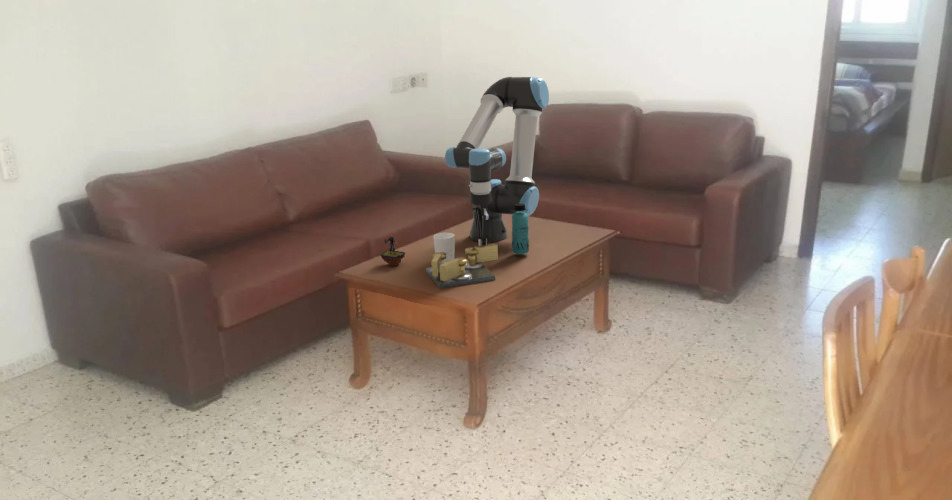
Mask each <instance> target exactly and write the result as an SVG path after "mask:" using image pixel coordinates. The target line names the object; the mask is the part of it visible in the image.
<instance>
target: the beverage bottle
mask: <svg viewBox="0 0 952 500" xmlns="http://www.w3.org/2000/svg"><path fill="white" fill-rule="evenodd" d="M514 209H515V211H524V210H526V208H525V204H522V203H519V204H515V208H514ZM511 223H512V224H511V248H512V249H511V251H512V253H513V254H515V255H525V254H528V253H529V251H530V240H529V237H530V236H529V235H530V233H529V228H530V227H529V216H528V215H527V214H526V213H525V212H516V213H514V214H513V215H511Z"/></svg>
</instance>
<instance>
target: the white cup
mask: <svg viewBox="0 0 952 500" xmlns="http://www.w3.org/2000/svg"><path fill="white" fill-rule="evenodd" d="M455 236H456V235H455V234H454V233H453V232H439V233H436V234H434V235H433V243H434V246H433V247H434V253H436V252H444V253H446V259H444V260H443V261H444V263H446V262H448V261H451V260H453V259H455V252H456V251H455V250H456V249H455V248H456V245H455V244H456V240H455V238H456V237H455Z"/></svg>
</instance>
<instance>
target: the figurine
mask: <svg viewBox="0 0 952 500" xmlns="http://www.w3.org/2000/svg"><path fill="white" fill-rule="evenodd" d="M389 241H390V243H389V249H388V250H384V251H383V252H382V253H381V254H380V257H381V259H382V260H383V261H384V262H385V263H387V264H388V265H389V266H391V267H395V266H397V265H399V264H401V262H402V259H403V258H405V255H406V252H405V251H399V250H396V248H395V244H396V246H397V247H400V245H399V244H398V243H397V241H396V240H395V237H393V234H390V236H389V237H388V238H387V239H384V240H383V242H384V245H385V244H386V245H387V243H388V242H389Z"/></svg>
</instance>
